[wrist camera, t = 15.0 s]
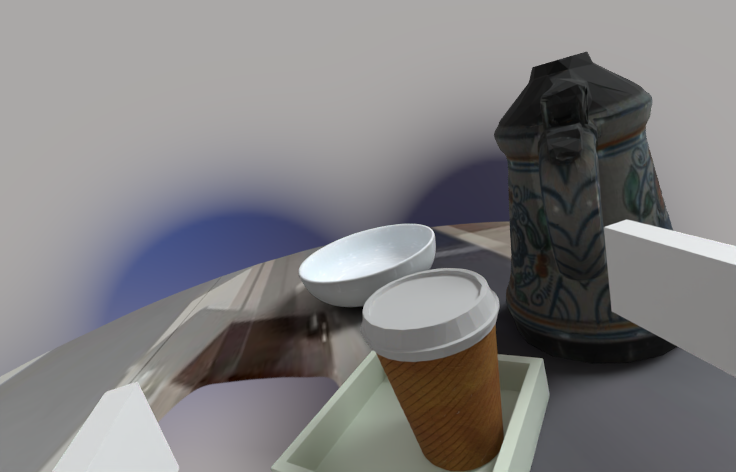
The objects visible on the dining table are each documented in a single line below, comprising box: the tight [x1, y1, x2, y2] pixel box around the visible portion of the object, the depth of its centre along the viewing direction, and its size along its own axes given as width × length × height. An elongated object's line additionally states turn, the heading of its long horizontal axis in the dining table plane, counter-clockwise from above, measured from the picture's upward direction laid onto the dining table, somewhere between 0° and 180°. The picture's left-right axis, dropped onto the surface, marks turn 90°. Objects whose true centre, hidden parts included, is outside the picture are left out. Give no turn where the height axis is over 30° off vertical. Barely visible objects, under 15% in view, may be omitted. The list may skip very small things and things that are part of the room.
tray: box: [271, 350, 550, 472], centre depth 32 cm, size 16×16×4 cm
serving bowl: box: [299, 224, 436, 307], centre depth 63 cm, size 21×21×7 cm
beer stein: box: [494, 52, 677, 363], centre depth 37 cm, size 16×19×25 cm
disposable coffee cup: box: [361, 268, 504, 471], centre depth 30 cm, size 10×10×12 cm
